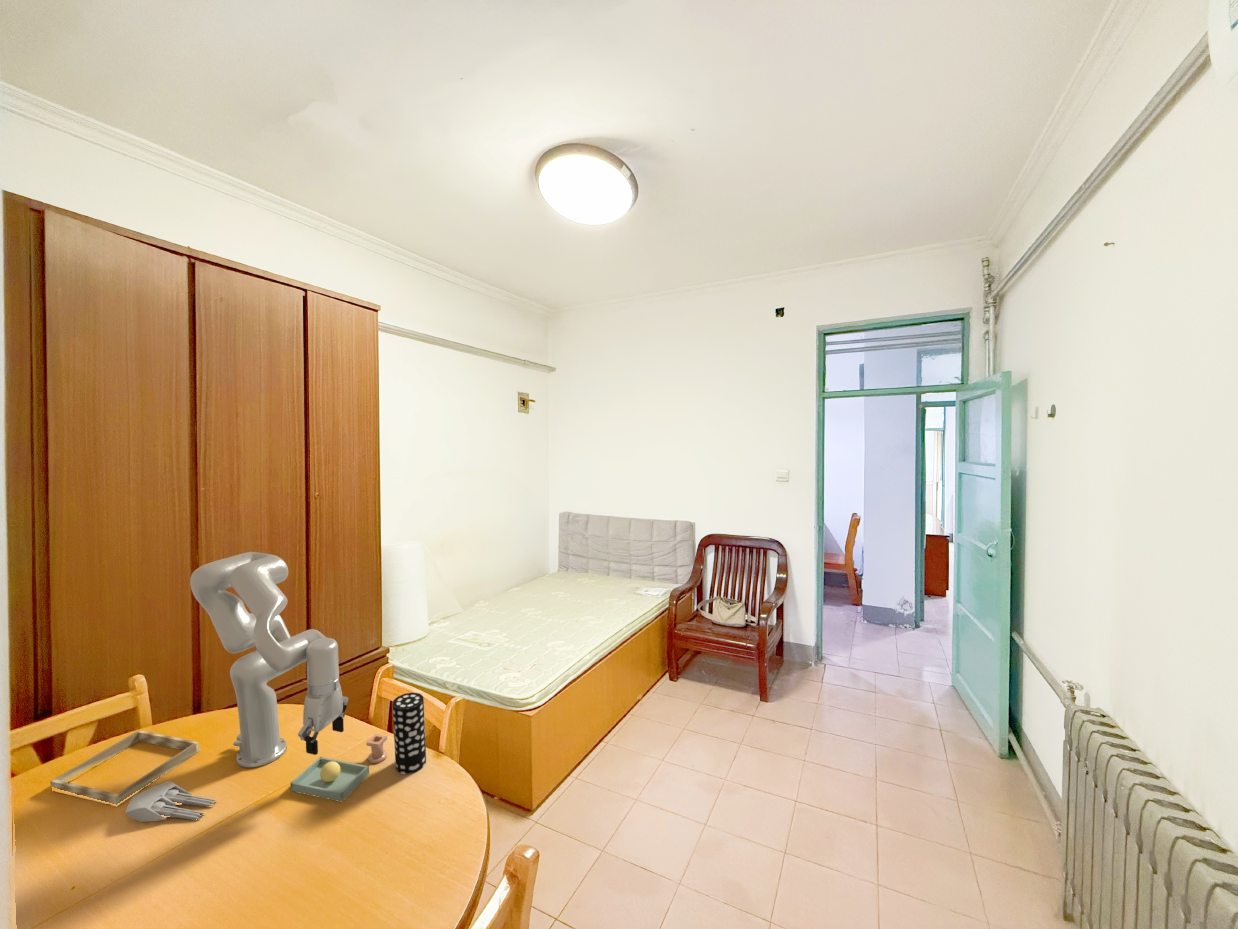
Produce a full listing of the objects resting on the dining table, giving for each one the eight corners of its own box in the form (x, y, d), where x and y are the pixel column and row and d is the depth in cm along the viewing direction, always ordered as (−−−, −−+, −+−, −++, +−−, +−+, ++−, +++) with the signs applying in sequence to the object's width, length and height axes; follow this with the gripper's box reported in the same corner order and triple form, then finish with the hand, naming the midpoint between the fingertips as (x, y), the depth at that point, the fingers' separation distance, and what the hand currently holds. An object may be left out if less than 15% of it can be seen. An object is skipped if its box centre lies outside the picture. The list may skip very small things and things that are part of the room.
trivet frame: (51, 791, 151) (50, 781, 150) (140, 739, 173) (138, 730, 172) (116, 807, 146) (115, 796, 145) (199, 751, 167) (198, 742, 167)
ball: (316, 784, 154) (315, 768, 153) (329, 771, 159) (328, 756, 158) (332, 788, 153) (331, 771, 152) (345, 775, 157) (343, 759, 157)
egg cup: (364, 761, 164) (363, 743, 163) (375, 750, 169) (374, 732, 168) (379, 764, 163) (378, 746, 162) (390, 753, 168) (389, 735, 167)
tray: (291, 791, 152) (290, 783, 152) (321, 764, 163) (320, 756, 162) (342, 802, 149) (341, 794, 148) (369, 773, 159) (368, 766, 159)
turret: (193, 835, 140) (193, 818, 140) (114, 821, 140) (114, 804, 140) (222, 805, 150) (223, 789, 150) (148, 792, 150) (149, 776, 150)
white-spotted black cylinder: (416, 776, 159) (413, 711, 156) (389, 771, 160) (386, 707, 157) (431, 756, 167) (429, 694, 164) (406, 752, 168) (403, 691, 165)
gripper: (334, 666, 160) (336, 720, 163) (286, 700, 144) (288, 759, 147) (357, 670, 159) (358, 725, 162) (311, 705, 142) (313, 766, 145)
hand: (325, 741), depth 154 cm, fingers open, 9 cm apart
